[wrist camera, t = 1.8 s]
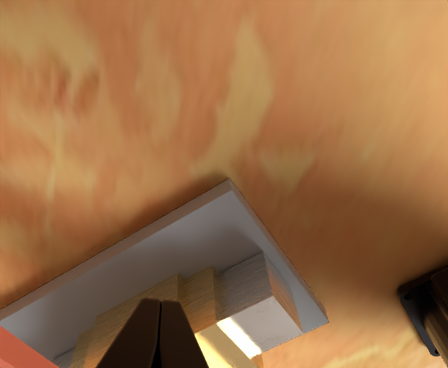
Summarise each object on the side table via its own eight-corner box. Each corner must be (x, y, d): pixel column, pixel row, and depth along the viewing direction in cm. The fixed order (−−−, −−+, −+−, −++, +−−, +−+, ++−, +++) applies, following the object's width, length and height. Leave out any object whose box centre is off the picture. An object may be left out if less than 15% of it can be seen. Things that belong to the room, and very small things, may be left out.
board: (324, 307, 23) (329, 322, 22) (124, 400, 26) (121, 416, 25) (229, 178, 18) (231, 190, 18) (0, 309, 22) (-8, 325, 21)
